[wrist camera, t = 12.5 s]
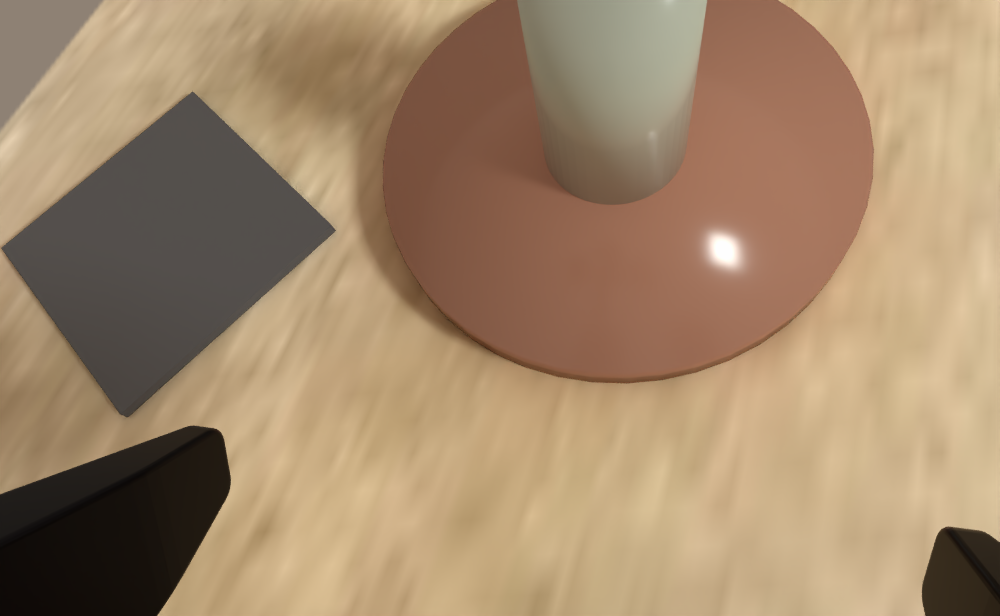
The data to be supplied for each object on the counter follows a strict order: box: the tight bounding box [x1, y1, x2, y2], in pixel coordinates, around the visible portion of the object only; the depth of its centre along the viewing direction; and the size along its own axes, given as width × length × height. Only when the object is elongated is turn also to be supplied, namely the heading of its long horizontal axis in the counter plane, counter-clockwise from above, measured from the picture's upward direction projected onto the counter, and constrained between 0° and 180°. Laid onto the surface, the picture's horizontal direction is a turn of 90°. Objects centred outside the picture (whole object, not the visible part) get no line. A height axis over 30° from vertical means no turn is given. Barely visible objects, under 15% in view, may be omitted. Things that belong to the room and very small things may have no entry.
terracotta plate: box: [383, 0, 874, 383], centre depth 26 cm, size 17×17×1 cm
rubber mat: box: [2, 92, 336, 417], centre depth 28 cm, size 10×10×1 cm
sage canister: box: [517, 0, 707, 205], centre depth 21 cm, size 5×5×9 cm
